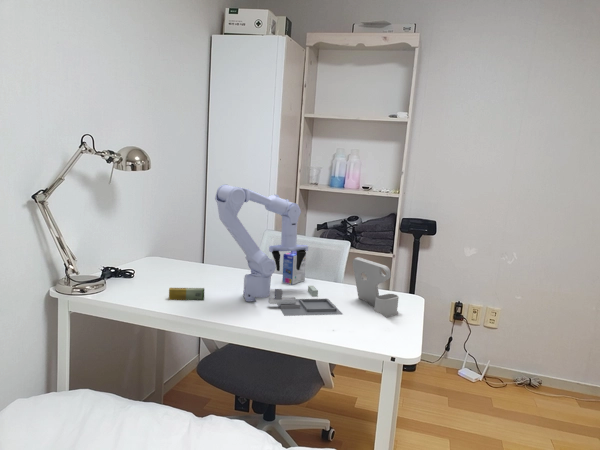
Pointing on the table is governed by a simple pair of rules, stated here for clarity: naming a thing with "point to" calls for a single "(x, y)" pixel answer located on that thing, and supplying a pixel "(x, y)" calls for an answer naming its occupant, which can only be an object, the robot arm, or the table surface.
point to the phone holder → (374, 286)
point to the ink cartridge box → (293, 268)
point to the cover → (312, 290)
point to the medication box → (186, 294)
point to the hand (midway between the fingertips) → (288, 269)
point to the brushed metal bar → (281, 298)
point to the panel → (309, 307)
